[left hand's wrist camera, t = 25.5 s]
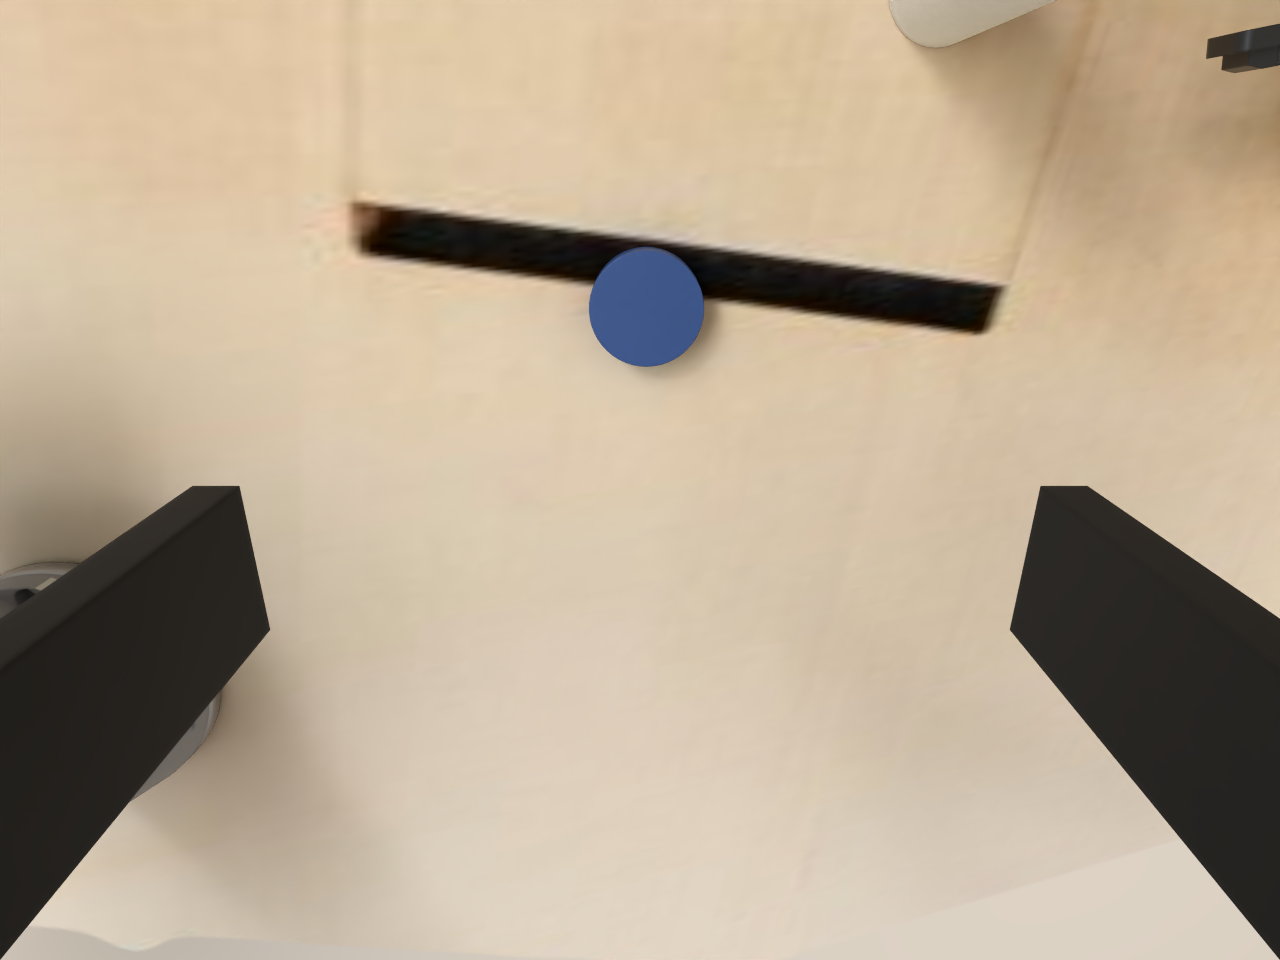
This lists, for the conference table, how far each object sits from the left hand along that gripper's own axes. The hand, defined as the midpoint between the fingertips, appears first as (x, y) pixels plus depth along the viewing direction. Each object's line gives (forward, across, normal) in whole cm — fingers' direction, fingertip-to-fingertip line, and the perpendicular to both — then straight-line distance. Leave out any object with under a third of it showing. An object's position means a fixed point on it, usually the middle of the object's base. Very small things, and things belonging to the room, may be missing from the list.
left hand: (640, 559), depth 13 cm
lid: (+26, 0, 0) cm, 26 cm away
